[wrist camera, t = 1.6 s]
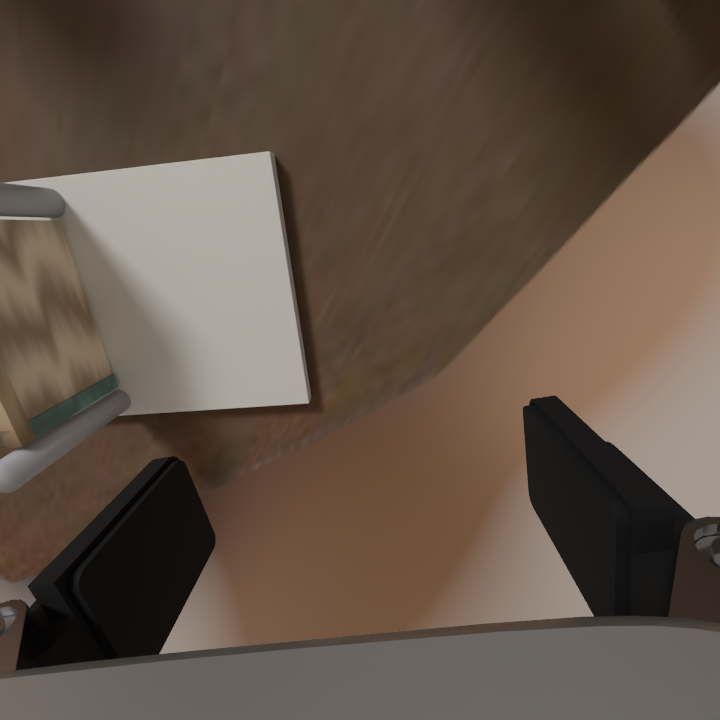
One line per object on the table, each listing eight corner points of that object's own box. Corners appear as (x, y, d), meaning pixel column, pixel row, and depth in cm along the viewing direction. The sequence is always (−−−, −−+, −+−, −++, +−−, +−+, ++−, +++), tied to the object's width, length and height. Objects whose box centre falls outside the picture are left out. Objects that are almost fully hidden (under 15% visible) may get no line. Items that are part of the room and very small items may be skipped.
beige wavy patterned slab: (43, 222, 33) (-112, 220, 22) (62, 220, 32) (-85, 216, 22) (102, 387, 38) (-1, 448, 28) (119, 386, 38) (21, 446, 27)
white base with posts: (-5, 187, 34) (-265, 160, 20) (274, 154, 32) (196, 99, 18) (82, 412, 41) (-63, 503, 28) (311, 397, 39) (275, 487, 26)
